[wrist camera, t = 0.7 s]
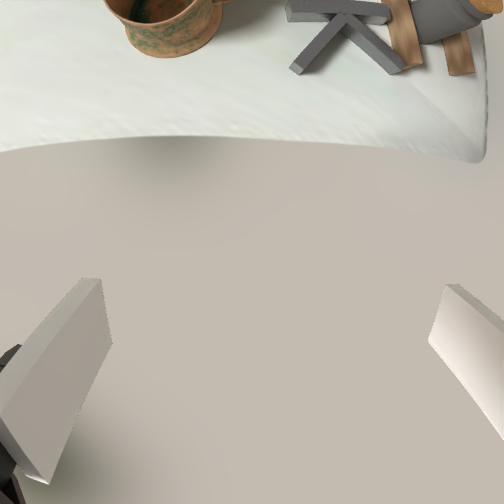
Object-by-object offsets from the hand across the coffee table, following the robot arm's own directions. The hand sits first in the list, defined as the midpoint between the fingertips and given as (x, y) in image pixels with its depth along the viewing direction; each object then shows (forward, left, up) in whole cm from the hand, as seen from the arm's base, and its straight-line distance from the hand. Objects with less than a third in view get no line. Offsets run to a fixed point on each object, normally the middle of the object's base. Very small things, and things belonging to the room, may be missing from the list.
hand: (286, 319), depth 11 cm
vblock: (-18, +13, -26) cm, 35 cm away
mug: (-23, -3, -27) cm, 36 cm away
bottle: (-21, +25, -27) cm, 42 cm away
